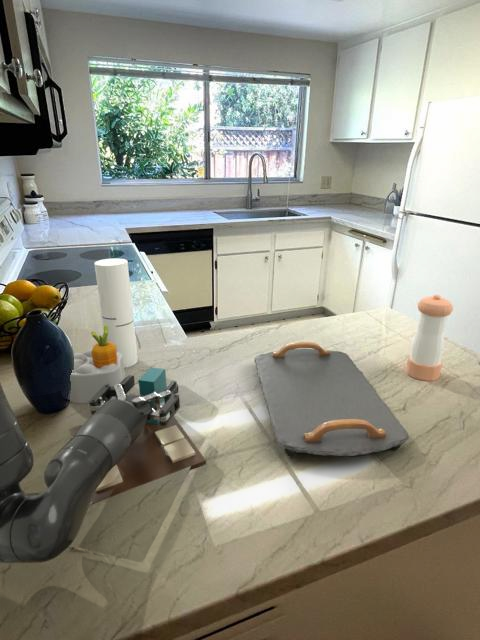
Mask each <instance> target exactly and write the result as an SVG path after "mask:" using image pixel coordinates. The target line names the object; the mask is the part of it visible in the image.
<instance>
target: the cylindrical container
mask: <svg viewBox="0 0 480 640" xmlns="http://www.w3.org/2000/svg"><path fill="white" fill-rule="evenodd" d="M93 266H94V270H95V279H96V285H97V292H98V293H97V294H98V301H99V309H100V315H101V324H102V329H103V330H102V331H103V332H104V326H105V325H107V326H108V337H107V342H110V343H113V344H115V346H116V351H117V352H119V353H121V354H122V355H123V361H124V369H126V368H130V367H132V366H134V365H136V364H137V363H138V361H139V358H138V347H137V339H136V329H135V327H136V326H135V320H134V309H133V300H132V299H133V298H132V290H131V281H130V280H131V279H130V271H129V261H128V260H127V259H126V258H118V257H117V258H116V257H115V258H113V257H112V258H103V259H100V260H97V261H94V265H93Z"/></svg>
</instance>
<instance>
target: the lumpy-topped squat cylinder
mask: <svg viewBox="0 0 480 640" xmlns="http://www.w3.org/2000/svg"><path fill="white" fill-rule="evenodd" d="M92 349H93V347H91V348H88V349H86V350H85V351H83V352H76V353H75V352H74V353H73V354H74V370H72V373H71V375H70V381H71V391H70V392H71V393H70V401H69V402H71V403H75V404H90V403H89V400H90V399H91V398H92V397H93V396H94V395H95V394H96V393H97V392H98V391H99V390H100V389H101V388H102V387H103V386H104V385H106V384H110V386H114V385H115V384H119V383H120V382H121V381H122V380H123V379H124V378H126V372H125V368H124V361H123V355H122V354H121V353H119V352H117V364H111V365H106V366H103V367H101V368H97V367H95V366H94V364H93V358H92ZM112 399H116V397H112V398H111V399H110V400H112Z"/></svg>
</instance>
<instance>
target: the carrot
mask: <svg viewBox="0 0 480 640" xmlns="http://www.w3.org/2000/svg"><path fill="white" fill-rule="evenodd" d="M90 334H91V337H93V338H94V339H95V341H96V342H97V343H96V344H93V346H92V348H93V349H92V358H93V364H94V366H95V367H97V368H101V367H103V366H106V365H111V364H117V351H116V346H115V344H113V343H110V342H107V337H108V326H107V325H105V326H104V331H103V333H102V335H101V334H99V335H98V334H97V333H96V332H95V331H90Z"/></svg>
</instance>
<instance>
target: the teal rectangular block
mask: <svg viewBox="0 0 480 640" xmlns="http://www.w3.org/2000/svg"><path fill="white" fill-rule="evenodd" d="M167 387H168V385H167V375H166V368H159V367H151V366H150V367H149V368H148V370H146V371H145V373H144V374H143V375H142V376H141V377H140V378H139V379H138V389H139V395H143V396H146V395H149V394H151V393H154V392H155V393H157V394H158V393H161V392H164V391H165V389H166V388H167ZM164 401H165V400H164V398H163V399H161V400H160V403H161V402H164ZM150 403H151V406H152V408H153V400H151V401H150ZM159 422H160V421H158V420H153V419H152V420H151V421H149V422H147V423H151V424H158V423H159Z"/></svg>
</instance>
